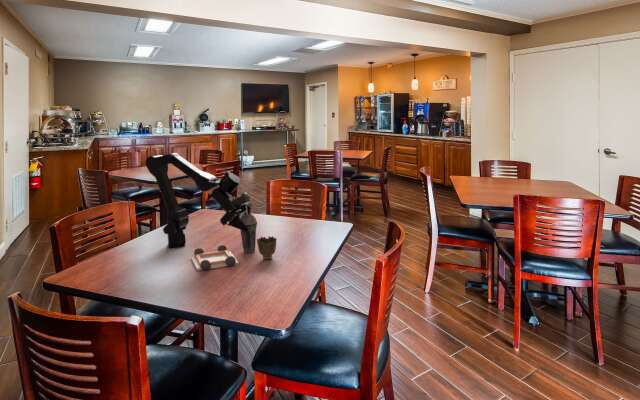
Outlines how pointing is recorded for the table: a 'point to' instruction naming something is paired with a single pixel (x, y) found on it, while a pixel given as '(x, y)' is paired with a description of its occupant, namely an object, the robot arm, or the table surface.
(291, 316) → the table surface
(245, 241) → the beverage cup
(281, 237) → the table surface
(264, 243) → the cup
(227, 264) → the chassis
